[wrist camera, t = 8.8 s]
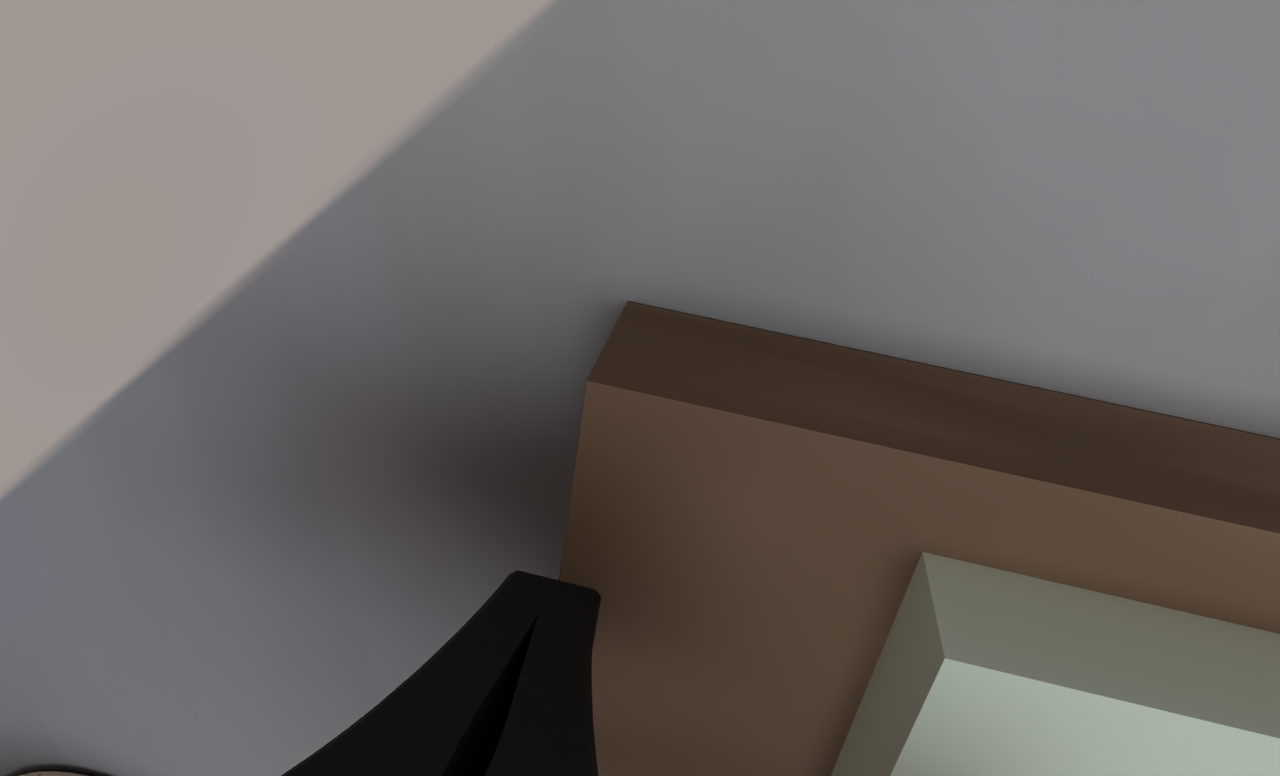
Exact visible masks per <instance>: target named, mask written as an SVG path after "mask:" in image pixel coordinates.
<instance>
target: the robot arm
mask: <svg viewBox="0 0 1280 776" xmlns="http://www.w3.org/2000/svg"><path fill="white" fill-rule="evenodd" d="M600 603H601V596H600V594H599V593H598V592H597V591H596V589H592V588H588V587H584V586H580V585H576V584H572V583H567V582H563V581H559V580H555V579H551V578H547V577H543V576H538V575H534V574H530V573H526V572H522V571H518V570H517V571H515V572H513V573H511V574H509V576H508V577H507V578H506V579H505V581H504V582H503V583H502V584H501V585H500V587H499V588H498V589H497V590H496V591H495V592H494V594H493V595H492V596H491V597H490V598H489V599H488V600H487V601H486V603H485V604H484V605H483V606H482V607H481V608H480V609H479V610H478V611H477V612H476V613H475V614H474V615H473V617H472V618H471V619H470V620H469V621H468V622H467V623H466V624H465V625H464V626H463V627H462V628H461V629H460V630H459V631H458V632H457V633H456V634H455V635H454V636H453V637H452V638H451V639H450V640H449V641H448V642H447V643H446V644H445V645H444V646H443V647H441V648H440V649H439V650H438V651H437V652H436V653H435V654H434V655H433V656H432V657H431V658H430V659H429V660H428V661H427V662H426V663H425V664H424V665H423V666H422V667H420V668H419V669H418V670H417V671H416V672H415V673H414V674H413V675H411V676H410V677H409V678H408V679H407V680H406V681H404V682H403V683H402V684H401V685H400V686H399V687H398V688H396V689H395V690H394V691H393V692H392V693H391V694H389V695H388V696H387V697H386V698H385V699H384V700H382V701H381V702H380V703H379V704H378V705H377V706H375V707H374V708H373V709H372V710H370V711H369V712H368V713H367V714H365V715H364V716H363V717H362V718H360V719H359V720H358V721H357V722H355V723H354V724H353V725H351V726H350V727H349V728H348V729H346V730H345V731H344V732H342V733H341V734H340V735H338V736H337V737H336V738H334V739H333V740H332V741H330V742H329V743H327V744H326V745H325V746H323V747H322V748H321V749H319V750H318V751H317V752H315V753H314V754H312V755H311V756H309V757H308V758H306V759H305V760H304V761H302V762H301V763H299V764H298V765H296V766H295V767H293V768H292V769H290V770H289V771H287V772H286V773H284V774H283V775H281V776H599V775H598V767H597V757H596V748H595V738H594V724H593V705H592V649H593V644H594V638H595V632H596V626H597V620H598V614H599V609H600Z"/></svg>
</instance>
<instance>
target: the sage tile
mask: <svg viewBox="0 0 1280 776" xmlns="http://www.w3.org/2000/svg"><path fill="white" fill-rule="evenodd" d="M831 776H1280V634H1278V633H1274V632H1269V631H1265V630H1260V629H1256V628H1252V627H1247V626H1243V625H1239V624H1234V623H1230V622H1226V621H1221V620H1217V619H1213V618H1208V617H1204V616H1200V615H1195V614H1191V613H1187V612H1182V611H1178V610H1174V609H1169V608H1165V607H1160V606H1156V605H1152V604H1147V603H1143V602H1139V601H1134V600H1130V599H1126V598H1121V597H1117V596H1113V595H1108V594H1104V593H1100V592H1095V591H1091V590H1087V589H1082V588H1078V587H1074V586H1069V585H1065V584H1061V583H1056V582H1052V581H1047V580H1043V579H1039V578H1034V577H1030V576H1026V575H1021V574H1017V573H1013V572H1008V571H1004V570H1000V569H995V568H991V567H987V566H982V565H978V564H974V563H969V562H965V561H961V560H956V559H952V558H948V557H943V556H939V555H934V554H930V553H926V552H922V554H921V556H920V559H919V561H918V564H917V566H916V569H915V571H914V573H913V576H912V578H911V581H910V583H909V586H908V588H907V591H906V593H905V595H904V598H903V600H902V603H901V605H900V608H899V610H898V613H897V615H896V617H895V620H894V622H893V625H892V627H891V630H890V632H889V635H888V637H887V639H886V642H885V644H884V647H883V649H882V652H881V654H880V657H879V659H878V661H877V664H876V666H875V669H874V671H873V674H872V676H871V679H870V681H869V683H868V686H867V688H866V691H865V693H864V696H863V698H862V701H861V703H860V705H859V708H858V710H857V713H856V715H855V718H854V720H853V723H852V725H851V727H850V730H849V732H848V735H847V737H846V740H845V742H844V745H843V747H842V749H841V752H840V754H839V757H838V759H837V762H836V764H835V767H834V769H833V771H832V774H831Z"/></svg>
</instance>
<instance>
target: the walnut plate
mask: <svg viewBox="0 0 1280 776" xmlns="http://www.w3.org/2000/svg"><path fill="white" fill-rule="evenodd" d="M922 552H926V553H930V554H934V555H939V556H943V557H948V558H952V559H956V560H961V561H965V562H969V563H974V564H978V565H982V566H987V567H991V568H995V569H1000V570H1004V571H1008V572H1013V573H1017V574H1021V575H1026V576H1030V577H1034V578H1039V579H1043V580H1047V581H1052V582H1056V583H1061V584H1065V585H1069V586H1074V587H1078V588H1082V589H1087V590H1091V591H1095V592H1100V593H1104V594H1108V595H1113V596H1117V597H1121V598H1126V599H1130V600H1134V601H1139V602H1143V603H1147V604H1152V605H1156V606H1160V607H1165V608H1169V609H1174V610H1178V611H1182V612H1187V613H1191V614H1195V615H1200V616H1204V617H1208V618H1213V619H1217V620H1221V621H1226V622H1230V623H1234V624H1239V625H1243V626H1247V627H1252V628H1256V629H1260V630H1265V631H1269V632H1274V633H1278V634H1280V439H1275V438H1270V437H1266V436H1261V435H1256V434H1252V433H1247V432H1242V431H1237V430H1233V429H1228V428H1223V427H1218V426H1214V425H1209V424H1204V423H1200V422H1195V421H1190V420H1185V419H1181V418H1176V417H1171V416H1167V415H1162V414H1157V413H1152V412H1148V411H1143V410H1138V409H1133V408H1129V407H1124V406H1119V405H1115V404H1110V403H1105V402H1100V401H1096V400H1091V399H1086V398H1081V397H1077V396H1072V395H1067V394H1063V393H1058V392H1053V391H1048V390H1044V389H1039V388H1034V387H1030V386H1025V385H1020V384H1015V383H1011V382H1006V381H1001V380H996V379H992V378H987V377H982V376H978V375H973V374H968V373H963V372H959V371H954V370H949V369H944V368H940V367H935V366H930V365H926V364H921V363H916V362H911V361H907V360H902V359H897V358H893V357H888V356H883V355H878V354H874V353H869V352H864V351H859V350H855V349H850V348H845V347H841V346H836V345H831V344H826V343H822V342H817V341H812V340H807V339H803V338H798V337H793V336H789V335H784V334H779V333H774V332H770V331H765V330H760V329H755V328H751V327H746V326H741V325H737V324H732V323H727V322H722V321H718V320H713V319H708V318H704V317H699V316H694V315H689V314H685V313H680V312H675V311H670V310H666V309H661V308H656V307H652V306H647V305H642V304H637V303H633V302H627V304H626V306H625V308H624V310H623V312H622V314H621V316H620V318H619V319H618V321H617V323H616V325H615V327H614V329H613V331H612V333H611V335H610V337H609V339H608V341H607V343H606V345H605V347H604V349H603V351H602V352H601V354H600V356H599V358H598V360H597V362H596V364H595V366H594V368H593V370H592V372H591V374H590V376H589V378H588V380H587V384H586V391H585V398H584V405H583V412H582V420H581V427H580V434H579V441H578V448H577V456H576V463H575V470H574V477H573V484H572V492H571V499H570V506H569V513H568V520H567V528H566V535H565V542H564V549H563V556H562V564H561V571H560V578H559V581H563V582H567V583H572V584H576V585H580V586H584V587H588V588H592V589H596V591H597V592H598V593H599V594H600V596H601V603H600V609H599V614H598V620H597V626H596V632H595V638H594V644H593V649H592V705H593V724H594V738H595V748H596V757H597V767H598V775H599V776H831V774H832V771H833V769H834V767H835V764H836V762H837V759H838V757H839V754H840V752H841V749H842V747H843V745H844V742H845V740H846V737H847V735H848V732H849V730H850V727H851V725H852V723H853V720H854V718H855V715H856V713H857V710H858V708H859V705H860V703H861V701H862V698H863V696H864V693H865V691H866V688H867V686H868V683H869V681H870V679H871V676H872V674H873V671H874V669H875V666H876V664H877V661H878V659H879V657H880V654H881V652H882V649H883V647H884V644H885V642H886V639H887V637H888V635H889V632H890V630H891V627H892V625H893V622H894V620H895V617H896V615H897V613H898V610H899V608H900V605H901V603H902V600H903V598H904V595H905V593H906V591H907V588H908V586H909V583H910V581H911V578H912V576H913V573H914V571H915V569H916V566H917V564H918V561H919V559H920V556H921V554H922Z"/></svg>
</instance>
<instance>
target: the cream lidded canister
mask: <svg viewBox="0 0 1280 776" xmlns="http://www.w3.org/2000/svg"><path fill="white" fill-rule="evenodd" d="M19 776H88V775H83V774H77V773H70V772H58V771H41V772H32V773H27V774H23V775H19Z"/></svg>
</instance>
